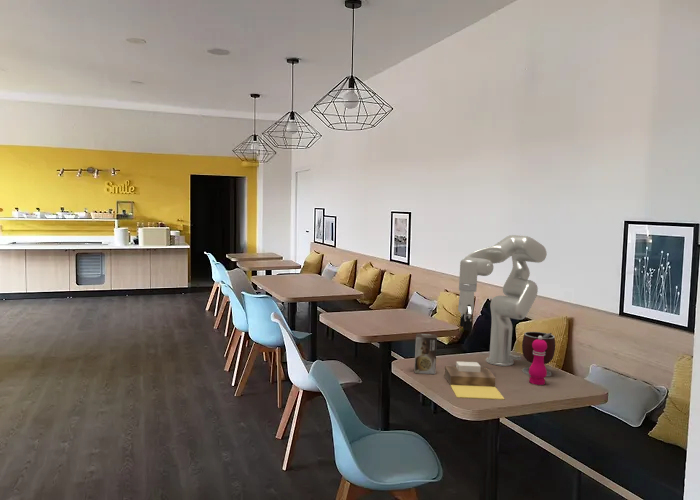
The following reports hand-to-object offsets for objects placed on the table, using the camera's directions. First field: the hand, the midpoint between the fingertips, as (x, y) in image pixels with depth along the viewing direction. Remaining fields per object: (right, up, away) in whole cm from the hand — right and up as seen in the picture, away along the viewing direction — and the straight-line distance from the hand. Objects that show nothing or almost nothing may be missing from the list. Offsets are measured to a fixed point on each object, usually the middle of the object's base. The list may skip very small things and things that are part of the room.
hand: (465, 328), depth 241 cm
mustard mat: (-1, -22, -25) cm, 33 cm away
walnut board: (-1, -21, -11) cm, 23 cm away
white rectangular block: (-1, -15, -9) cm, 17 cm away
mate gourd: (+33, -21, +5) cm, 39 cm away
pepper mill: (+28, -22, -9) cm, 37 cm away
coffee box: (-18, -19, 0) cm, 26 cm away
